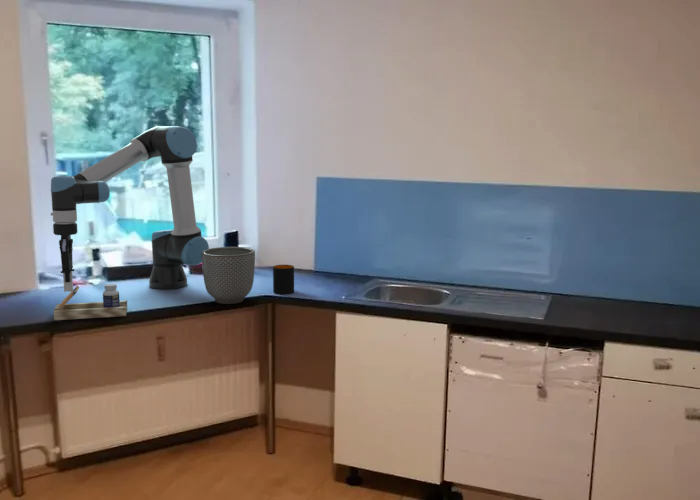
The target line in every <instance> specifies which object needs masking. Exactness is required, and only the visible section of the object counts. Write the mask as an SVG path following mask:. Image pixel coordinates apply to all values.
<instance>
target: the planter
mask: <svg viewBox="0 0 700 500" xmlns="http://www.w3.org/2000/svg"><path fill="white" fill-rule="evenodd" d="M201 257H202V263H201V266H202V275H203V281H204V282H203V283H204V286H205V290H206V292H207V293H208V295H209V296H210V297H212V298H213V299H214V301H215V302H216V303H217V304H221V305H232V304H233V305H234V304H240V303H242V302H244V301H245V298H246V297H247V296H248V295H249V294H250V292H252V289H253V286H254V281H255V269H256V268H255V267H256V251H255V249H253V248H250V247H244V246H243V247H242V246H219V247H211V248H210V247H209V249H206V250H203V251H202V254H201Z"/></svg>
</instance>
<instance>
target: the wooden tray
mask: <svg viewBox="0 0 700 500" xmlns="http://www.w3.org/2000/svg"><path fill="white" fill-rule="evenodd" d="M119 301H120V307H107V308H103V301H97V302H96V301H94V302H93V301H92V302H76V303H73V302H72V303H66V304H65V305H64V306H63V307H62V308H61V307H60V305H61V303H57V304H56V306H55V307H54V309H53V321H62V320H79V319H81V320H83V319H95V318H96V319H97V318H99V319H101V318H111V317H112V318H114V317H115V318H116V317H126V316H127V313H128V300H119Z"/></svg>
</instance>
